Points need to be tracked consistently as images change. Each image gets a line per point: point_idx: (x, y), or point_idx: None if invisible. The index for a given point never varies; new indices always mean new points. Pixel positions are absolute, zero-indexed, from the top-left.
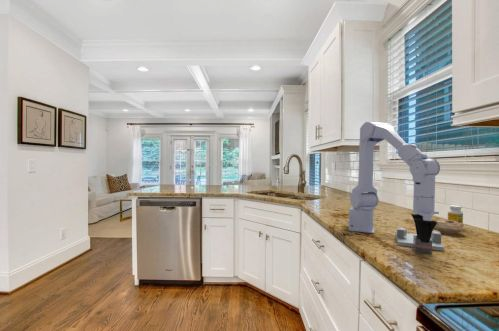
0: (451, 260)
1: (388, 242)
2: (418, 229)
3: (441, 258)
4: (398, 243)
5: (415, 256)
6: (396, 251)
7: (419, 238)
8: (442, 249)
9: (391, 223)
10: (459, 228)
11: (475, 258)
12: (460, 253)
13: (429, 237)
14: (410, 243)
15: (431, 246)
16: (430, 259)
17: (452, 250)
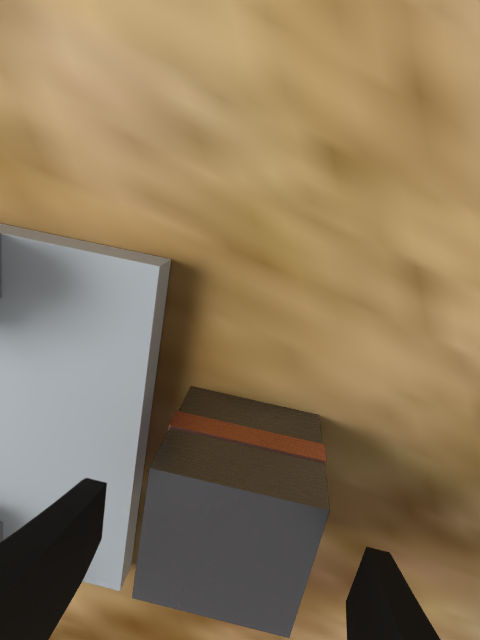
0: (462, 318)
1: (79, 600)
2: (58, 606)
3: (417, 381)
4: (124, 575)
5: (401, 552)
6: (304, 626)
7: (278, 603)
8: (165, 276)
9: None
10: None
11: (347, 18)
12: (200, 115)
13: (419, 619)
14: (129, 517)
15: (324, 467)
16: (461, 478)
17: (114, 157)
